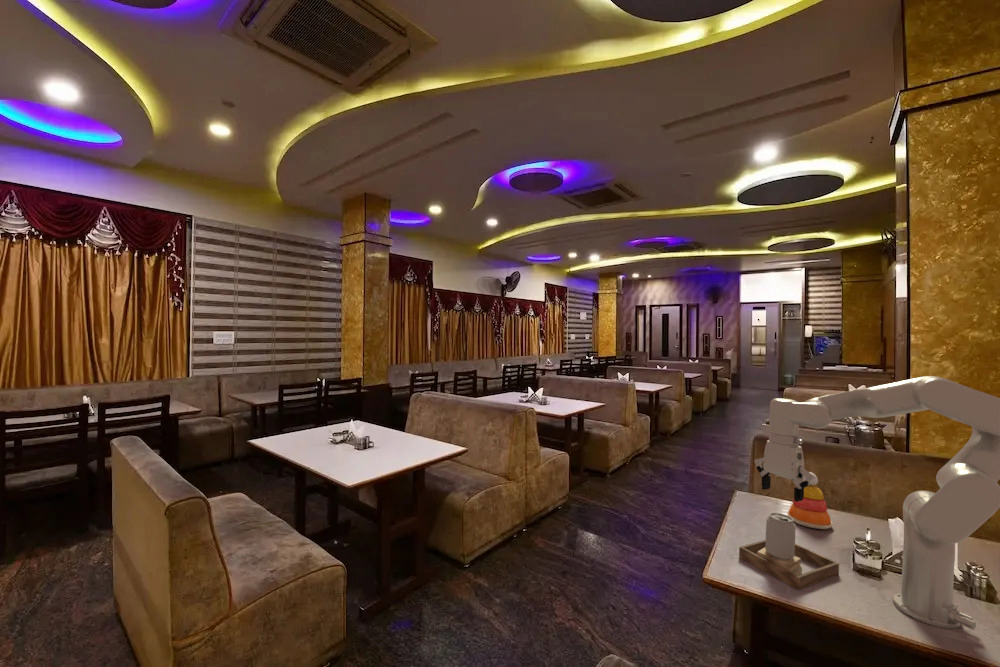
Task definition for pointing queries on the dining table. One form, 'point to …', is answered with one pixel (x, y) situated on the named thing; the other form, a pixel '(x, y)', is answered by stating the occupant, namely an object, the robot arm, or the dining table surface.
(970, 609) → the dining table surface
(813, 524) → the stacking toy
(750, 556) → the wooden frame
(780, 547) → the can
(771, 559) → the offcut stack
